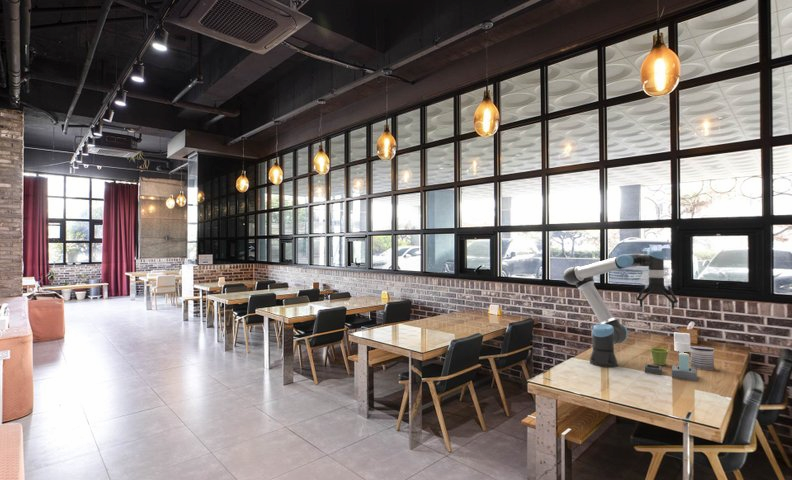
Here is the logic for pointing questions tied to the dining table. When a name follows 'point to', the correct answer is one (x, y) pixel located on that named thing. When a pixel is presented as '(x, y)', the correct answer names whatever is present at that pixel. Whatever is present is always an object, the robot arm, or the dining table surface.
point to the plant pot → (659, 356)
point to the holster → (653, 369)
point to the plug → (683, 361)
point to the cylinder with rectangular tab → (682, 342)
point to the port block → (684, 373)
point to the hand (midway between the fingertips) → (656, 313)
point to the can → (702, 357)
